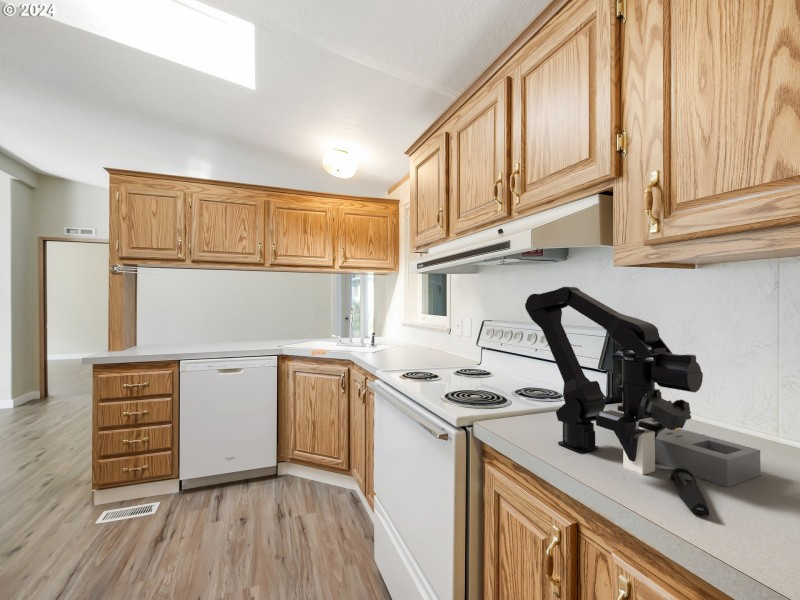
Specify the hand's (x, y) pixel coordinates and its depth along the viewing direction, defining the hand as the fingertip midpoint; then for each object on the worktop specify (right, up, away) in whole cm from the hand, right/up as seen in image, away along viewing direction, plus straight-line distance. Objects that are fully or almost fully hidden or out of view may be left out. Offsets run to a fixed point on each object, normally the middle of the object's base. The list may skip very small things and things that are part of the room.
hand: (638, 459), depth 78 cm
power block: (+14, -2, +2) cm, 14 cm away
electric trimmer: (+2, -2, -11) cm, 12 cm away
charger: (0, -2, 0) cm, 2 cm away
